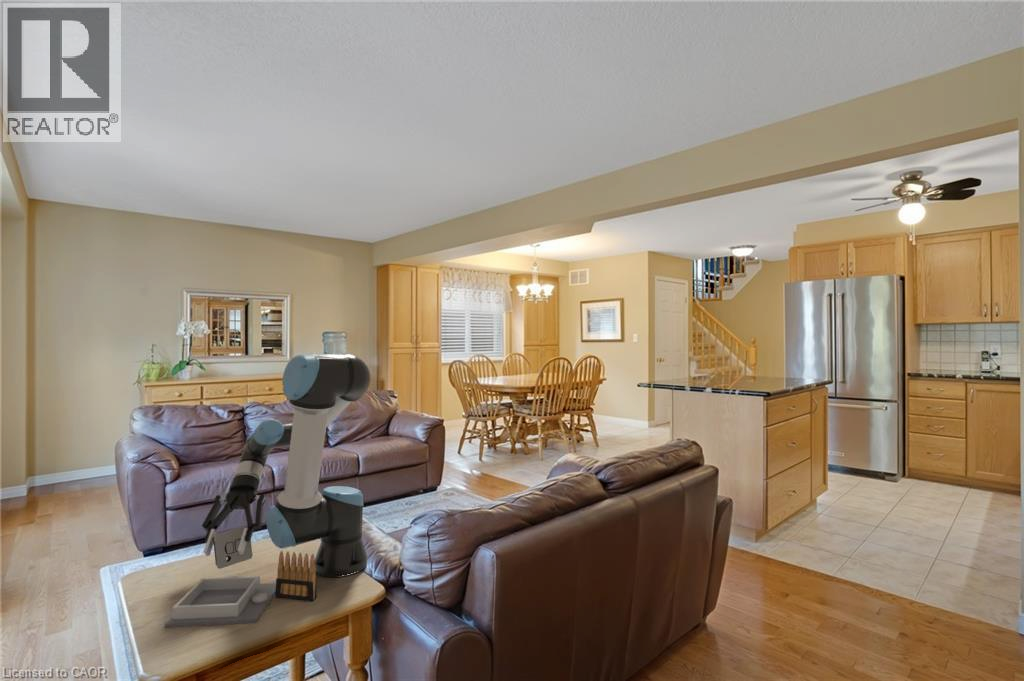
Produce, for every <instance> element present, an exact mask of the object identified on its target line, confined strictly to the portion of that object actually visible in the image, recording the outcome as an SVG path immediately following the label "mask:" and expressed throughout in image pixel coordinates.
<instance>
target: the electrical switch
mask: <svg viewBox="0 0 1024 681" xmlns="http://www.w3.org/2000/svg"><path fill="white" fill-rule="evenodd" d="M244 528H248V526H247V525H244V526H241V527H236V528H233V529H229V530H226V531H223V532H217V534H215V536H214V537H213V543H214V544H213V549H214V551H213V552H214V560H215V562H214V563H215V566H216V568H217V569H219V570H220V569H224V568H227V567H229V566H233V565H236V564H238V563H241V562H245V561H248V560H251V559H252V558H253V548H252V539H251V540H250V542H247V543H246V546H245V550H244V553H243V555H240V553H239V552H238V548H239V544H240V541H241V538H242V534H243V531H244Z"/></svg>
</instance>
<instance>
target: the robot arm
mask: <svg viewBox="0 0 1024 681" xmlns="http://www.w3.org/2000/svg"><path fill="white" fill-rule="evenodd" d="M281 385H282V391H283V395H284V397H285V398H286V399H288V400H289V402H288V403H289V405H290V406H291V407H292V408H293V410H294V411H293V416H292V417H293V419H292V421H291V422H283V423H282V422H281V421H280V420H278V419H274V418H266V419H264V420H262V421H261V422H260V423H259V424H258V425H257V427H255V429H254V431H253V433H252V434H249V435H248V436H247V438H246V440H245V442H244V444H243V449H242V452H241V456H240V458H239V462H238V463H237V464H238V465H237V468H236V469H235V472H234V478H232V482H231V484H230V488H229V491H228V493H227V494H225V495H222V496H220V495H216V496H215V498H214V503H213V505H212V506H211V509H210V510H209V512H208V514H207V515H206V517H205V518H204V520H203V522H202V525H201V527H202V528H203V530H204V531H206V534H205V538H204V542H205V543H206V544H205V547H204V550H203V554H205V556H206V557H210V556H211V552H212V550H213V548H214V543H213V537H214V536H215V534H218V532H217V529H218V528H219V527H220V526H221V525H222V523H223V522H224V521H225V519H226V518H227V517H228V516H229V515H230V514H231V513H233V511H234V510H244V514H245V519H246V520H245V521H246V526H248V528H244V531H243V534H242V538H241V541H240V544H239V548H238V552H239V553H240V555H243V553H244V550H245V546H246V543H247V542H250V540H251V541H252V536H253V533H254V531H255V530H257V529H258V530H260V529H262V524H263V514H264V504H266V501H267V499H266V496H265V494H264V493H261V494H260V495H258V494H257V493H258V490H259V486H260V481H261V479H262V476H263V473H264V470H265V469H264V468H265V466H266V463H267V459H268V457H269V455H271V454H270V453H271V452H272V451H273V449H278V448H285V447H289V449H288V451H289V452H288V458H287V465H286V466H287V467H286V473H285V480H284V481H285V482H284V490H282V491H281V492H280V493H279V494H278V495H277V498H276V504H274V505H271V506H269V507H268V508H267V511H266V515H265V523H266V527H267V528H266V529H267V531H268V535H269V537H270V540H271V541H272V543H273V544H274V546H275V547H277V548H279V549H287V548H290V547H291V548H292V547H296V546H298V545H302V544H305V543H309V542H312V541H316V540H319V539H320V543H319V547H318V549H317V552H316V555H315V557H314V558H315V570H316V572H315V574H317V575H318V576H321V577H326V578H338V577H337V576H342V575H347V574H351V573H354V572H357V571H360V572H362V571H363V570H364V569H366V567H367V566H368V553H367V551H366V547H365V544H364V540H363V519H364V518H363V513H364V511H363V510H364V495H363V493H362V490H360V489H358V488H355V487H351V486H343V485H339V486H338V485H336V486H335V485H334V486H333V485H332V486H327V487H325V488H323V489H322V490H321V492H320V491H319V482H320V476H321V475H320V474H321V468H322V463H323V462H322V461H323V454H324V446H325V439H326V435H327V427H328V426H330V425H331V424H332V422H333V421H334V420H335V419H336V418H338V416H340V415H341V413H343V411H344V410H345V409H346V408H348V407H349V405H350V404H351V403H354V402H357V401H359V400H360V399H361V398H362V397H363V396H364V395H366V392H367V391H368V389H369V387H370V385H371V372H370V369H369V367H368V365H367V364H366V363H365V362H364V360H363V359H361V358H359V356H356V355H353V354H349V353H342V354H339V353H338V354H336V353H334V354H332V353H330V354H327V353H326V354H325V353H308V354H298V355H295V356H293V357H292V358H291V359H290V360H289V361H288V362H287V365H285V368H284V371H283V376H282V384H281ZM226 501H227V502H226ZM255 501H256V509H255V511H256V512H255V521H254V520H253V515H252V514H253V513H252V508H251V505H252V504H253V503H254V502H255ZM225 502H226V504H224V503H225ZM222 505H224V507H223V508H222ZM221 508H222V510H221ZM220 510H221V511H220ZM366 565H367V566H366Z"/></svg>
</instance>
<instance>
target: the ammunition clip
mask: <svg viewBox="0 0 1024 681" xmlns="http://www.w3.org/2000/svg"><path fill="white" fill-rule="evenodd" d="M315 558H316V557H315V554H314V553H312V554H311V556H310V560H309V555H308V553H307V552H306V553H305V555H304V558H303V554H302V552H299V554H298V557H297V555H296V552H295V551H293V553H292V556H291V555H290V552H289V551H286V554H285V558H284V551H282V550H280V552H279V558H278V563H277V564H278V565H277V577H276V578H275V583H276V590H275V594H274V598H275V599H282V600H293V601H298V602H299V601H302V602H309V603H310V602H311V603H312V602H314V601H315V600H316V599H317V578H316V570H315Z"/></svg>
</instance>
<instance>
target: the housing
mask: <svg viewBox="0 0 1024 681" xmlns="http://www.w3.org/2000/svg"><path fill="white" fill-rule="evenodd" d="M275 590H276V582H274V583H273V582H272V583H271V582H270V583H261V576H257V575H256V576H234V577H233V576H232V577H206V578H205V577H204V578H200V580H199V581H197V582H196V584H194V585H193V587H192V588H190V590H188V591H187V592H186V593H185V595H184V596H182V598H180V599H179V600H178V601H177V603H175V604H174V606H172V607H171V608H172V609H171V610H172V614H171V617H170V618H169V619H168V620H167V621H166V622H165V623H164V628H171V627H172V628H174V627H192V626H193V627H194V626H195V627H196V626H215V625H216V626H217V625H233V624H235V625H236V624H238V625H239V624H255V623H257V622H258V621H259V619H260V617H261V616H262V614H263V612H264V611H265V610H266V608H267V607H268V605H269V604H270V602H271V601H272V599H273V597H275Z"/></svg>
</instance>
